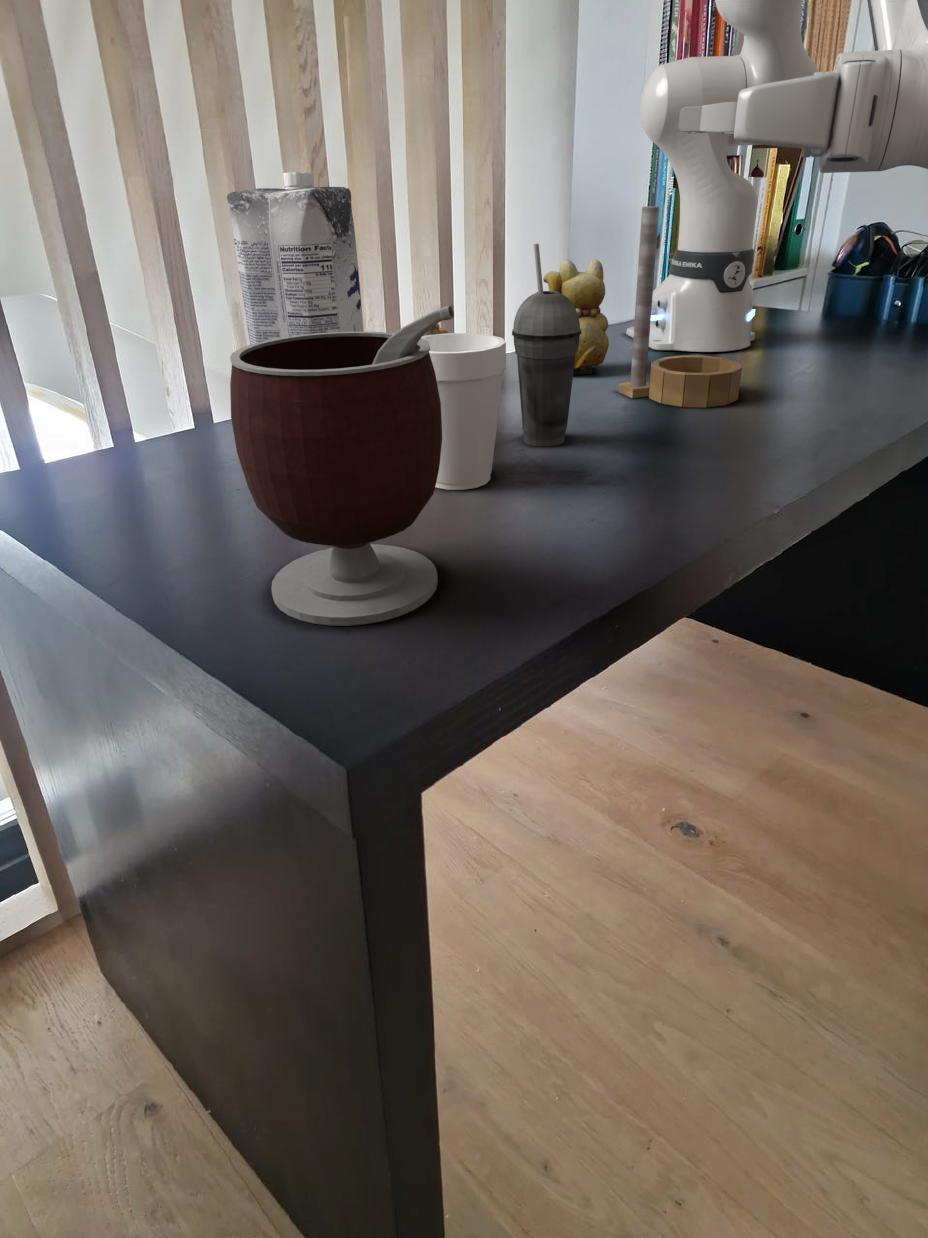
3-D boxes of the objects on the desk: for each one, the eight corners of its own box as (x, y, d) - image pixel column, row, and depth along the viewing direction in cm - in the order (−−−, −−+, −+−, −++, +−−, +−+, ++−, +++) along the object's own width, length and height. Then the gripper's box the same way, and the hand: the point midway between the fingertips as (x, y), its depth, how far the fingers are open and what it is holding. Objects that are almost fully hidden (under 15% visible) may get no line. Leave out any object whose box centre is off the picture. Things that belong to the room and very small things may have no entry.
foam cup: (460, 457, 88) (456, 329, 81) (525, 476, 82) (526, 340, 75) (391, 480, 82) (381, 344, 75) (456, 503, 76) (451, 357, 70)
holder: (618, 392, 109) (629, 206, 99) (702, 381, 113) (721, 201, 102) (665, 413, 100) (683, 210, 89) (755, 401, 104) (782, 204, 93)
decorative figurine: (594, 363, 125) (599, 255, 118) (619, 374, 118) (627, 260, 111) (535, 369, 122) (536, 259, 115) (557, 381, 116) (560, 265, 108)
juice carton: (344, 470, 85) (313, 172, 72) (257, 461, 88) (211, 175, 75) (381, 444, 92) (359, 169, 79) (299, 437, 96) (264, 172, 82)
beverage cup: (574, 451, 88) (582, 246, 78) (506, 449, 89) (506, 247, 80) (579, 431, 94) (587, 239, 85) (516, 429, 96) (516, 240, 86)
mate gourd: (222, 614, 58) (164, 316, 49) (320, 538, 70) (289, 285, 60) (424, 649, 53) (404, 325, 44) (494, 562, 65) (490, 289, 55)
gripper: (844, 78, 78) (693, 86, 81) (871, 58, 61) (678, 70, 64) (832, 155, 81) (686, 160, 84) (854, 157, 64) (671, 162, 67)
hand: (683, 121), depth 74 cm, fingers open, 8 cm apart
